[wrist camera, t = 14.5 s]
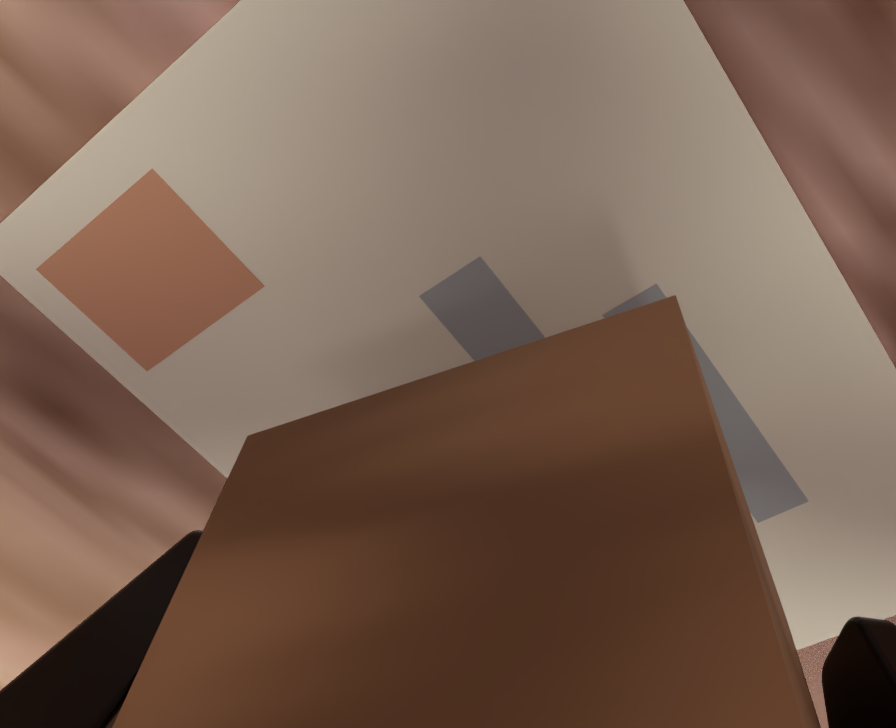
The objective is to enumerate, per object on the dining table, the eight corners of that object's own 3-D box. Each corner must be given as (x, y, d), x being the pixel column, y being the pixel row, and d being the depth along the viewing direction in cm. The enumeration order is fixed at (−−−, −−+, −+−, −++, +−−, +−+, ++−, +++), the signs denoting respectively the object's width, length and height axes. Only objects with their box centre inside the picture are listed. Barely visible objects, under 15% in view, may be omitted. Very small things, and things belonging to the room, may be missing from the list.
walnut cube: (429, 694, 12) (374, 1162, 8) (247, 435, 10) (28, 907, 5) (787, 621, 11) (952, 1146, 6) (675, 295, 8) (822, 793, 4)
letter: (1007, 563, 13) (1013, 573, 13) (526, 737, 16) (527, 747, 16) (529, -267, 8) (528, -268, 8) (-21, 243, 11) (-28, 250, 11)
